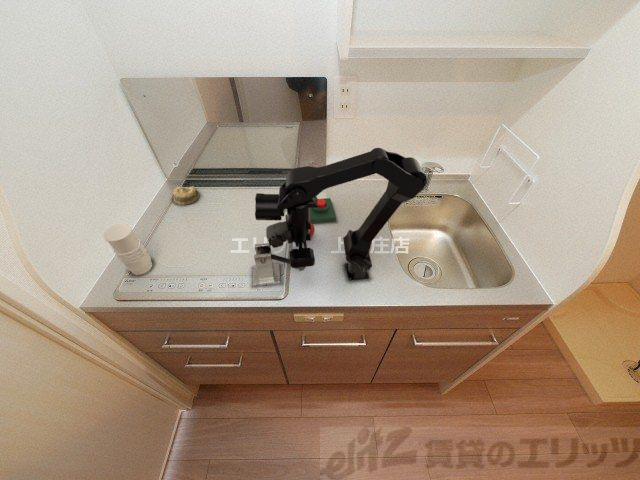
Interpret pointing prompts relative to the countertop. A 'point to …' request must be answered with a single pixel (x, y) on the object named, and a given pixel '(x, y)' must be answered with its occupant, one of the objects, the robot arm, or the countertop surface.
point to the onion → (312, 230)
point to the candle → (128, 248)
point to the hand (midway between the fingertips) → (299, 257)
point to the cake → (185, 195)
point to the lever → (274, 256)
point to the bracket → (265, 267)
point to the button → (321, 203)
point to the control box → (323, 213)
